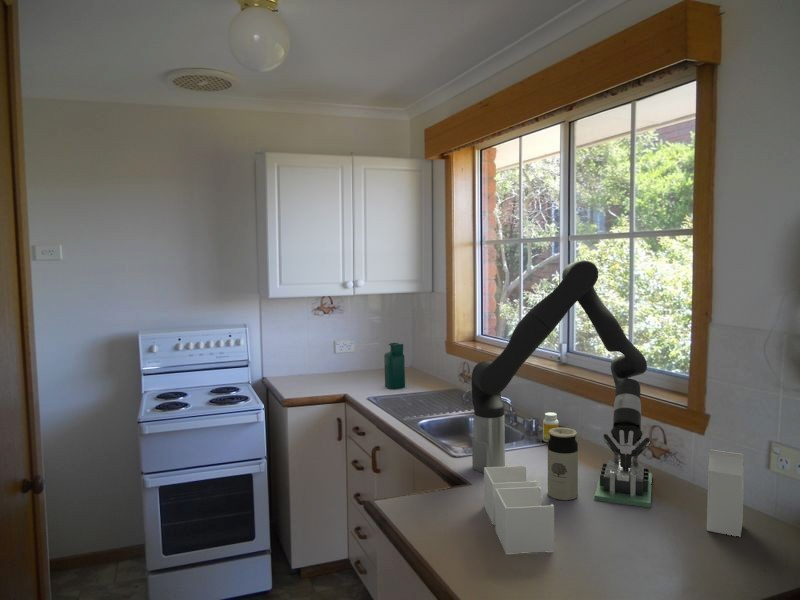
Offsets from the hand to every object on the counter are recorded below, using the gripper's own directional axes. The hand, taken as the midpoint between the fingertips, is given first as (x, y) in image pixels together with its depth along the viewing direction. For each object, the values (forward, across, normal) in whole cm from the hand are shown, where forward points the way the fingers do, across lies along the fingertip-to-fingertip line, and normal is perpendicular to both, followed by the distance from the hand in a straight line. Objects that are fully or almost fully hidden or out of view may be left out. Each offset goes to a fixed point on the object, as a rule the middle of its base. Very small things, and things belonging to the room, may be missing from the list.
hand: (625, 468), depth 168 cm
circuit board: (+3, 0, +7) cm, 7 cm away
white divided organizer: (+26, -24, -17) cm, 40 cm away
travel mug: (+10, -16, -1) cm, 19 cm away
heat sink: (+2, 0, +6) cm, 6 cm away
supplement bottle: (-22, -26, +32) cm, 47 cm away
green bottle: (-62, -109, +71) cm, 144 cm away
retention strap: (-1, 0, +3) cm, 3 cm away
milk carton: (+15, +23, -5) cm, 28 cm away
